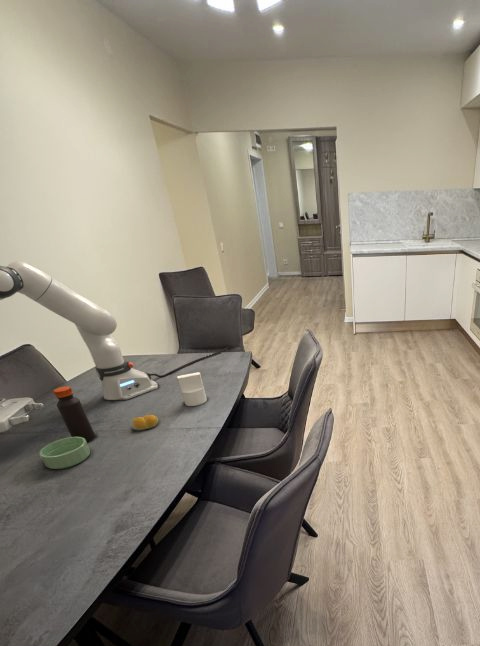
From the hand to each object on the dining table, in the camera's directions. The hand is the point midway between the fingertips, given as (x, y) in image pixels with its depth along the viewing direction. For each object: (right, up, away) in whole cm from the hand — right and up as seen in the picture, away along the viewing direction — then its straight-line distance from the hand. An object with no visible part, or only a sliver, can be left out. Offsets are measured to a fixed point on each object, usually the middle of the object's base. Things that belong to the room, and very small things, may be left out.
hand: (35, 411), depth 134 cm
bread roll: (+30, -5, +15) cm, 34 cm away
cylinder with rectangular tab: (+41, +6, +33) cm, 54 cm away
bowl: (+14, -16, -3) cm, 22 cm away
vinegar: (+11, -10, +8) cm, 17 cm away
